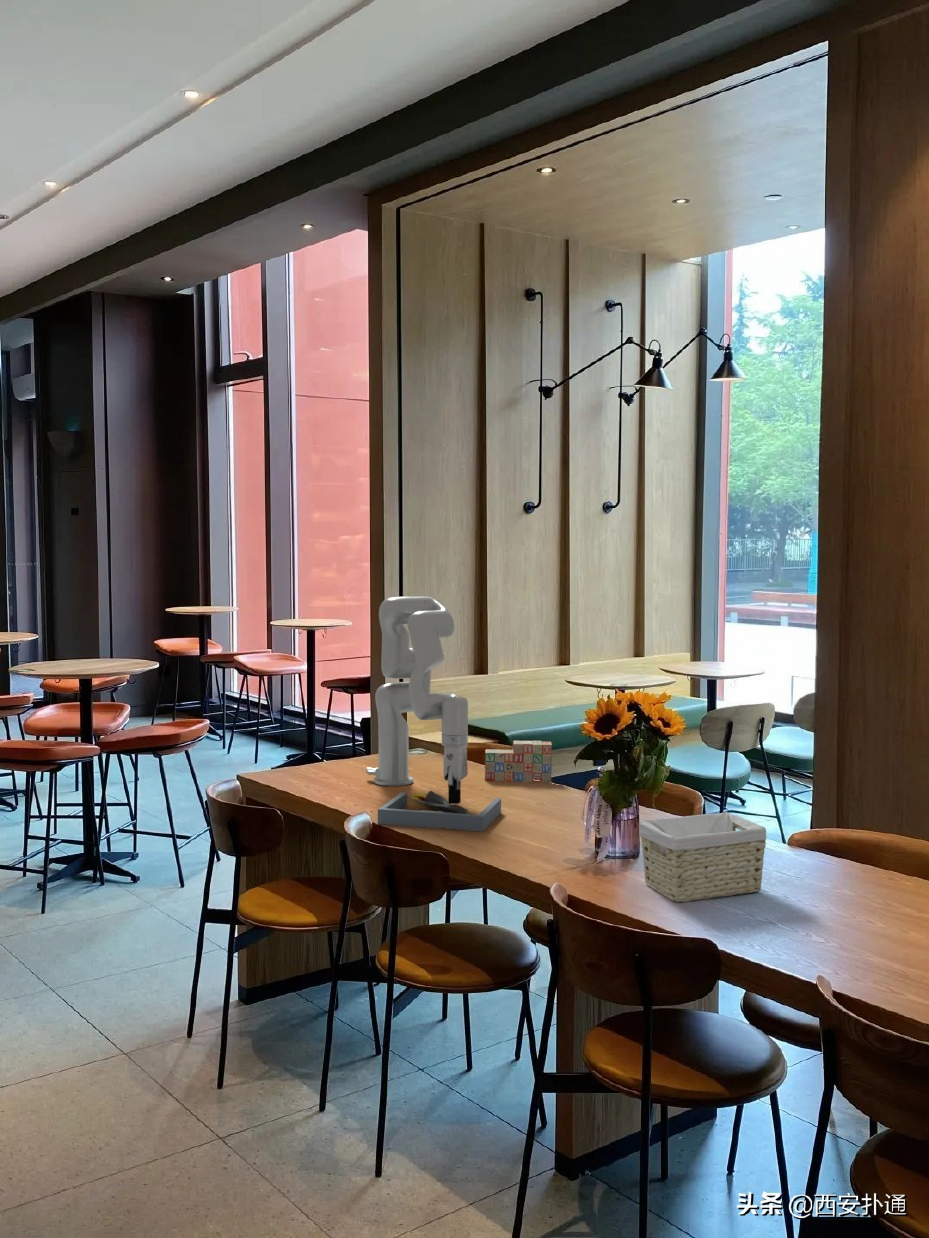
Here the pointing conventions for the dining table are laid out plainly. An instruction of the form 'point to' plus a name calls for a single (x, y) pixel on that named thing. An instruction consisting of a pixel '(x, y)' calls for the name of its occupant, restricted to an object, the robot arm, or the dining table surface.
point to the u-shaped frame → (436, 816)
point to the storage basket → (702, 856)
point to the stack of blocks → (520, 762)
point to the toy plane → (438, 803)
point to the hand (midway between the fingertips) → (454, 802)
